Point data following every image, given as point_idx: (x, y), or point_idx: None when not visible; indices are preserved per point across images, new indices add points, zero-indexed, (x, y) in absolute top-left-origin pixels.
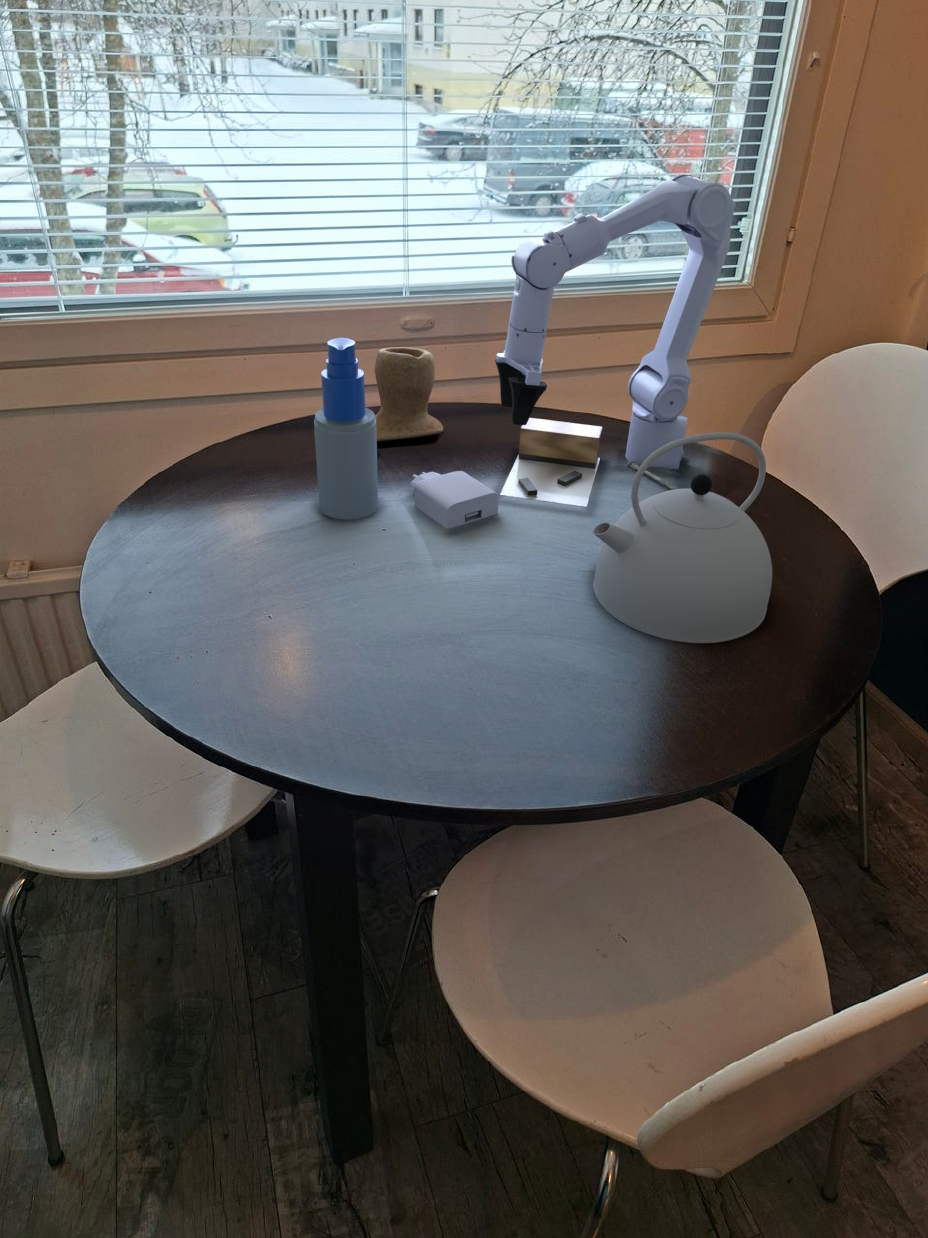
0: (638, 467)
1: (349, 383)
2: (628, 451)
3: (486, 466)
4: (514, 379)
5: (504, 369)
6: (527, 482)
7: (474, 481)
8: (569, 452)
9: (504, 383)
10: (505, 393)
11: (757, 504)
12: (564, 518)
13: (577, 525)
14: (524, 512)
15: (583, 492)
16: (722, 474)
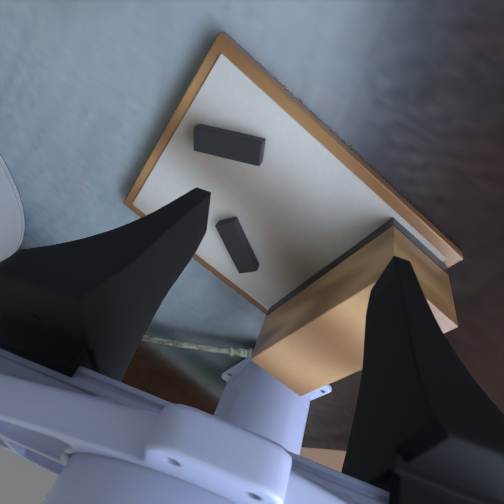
0: (236, 353)
1: None
2: None
3: (435, 126)
4: (42, 306)
5: (403, 408)
6: (235, 151)
7: None
8: (298, 302)
9: (398, 338)
10: (392, 304)
11: (133, 377)
12: (123, 149)
13: (96, 155)
14: (158, 81)
15: None
16: (213, 407)
